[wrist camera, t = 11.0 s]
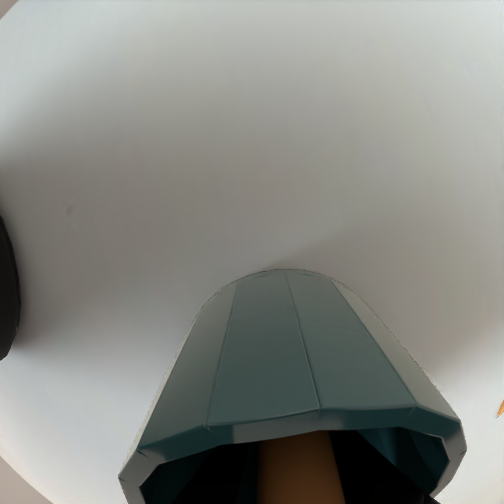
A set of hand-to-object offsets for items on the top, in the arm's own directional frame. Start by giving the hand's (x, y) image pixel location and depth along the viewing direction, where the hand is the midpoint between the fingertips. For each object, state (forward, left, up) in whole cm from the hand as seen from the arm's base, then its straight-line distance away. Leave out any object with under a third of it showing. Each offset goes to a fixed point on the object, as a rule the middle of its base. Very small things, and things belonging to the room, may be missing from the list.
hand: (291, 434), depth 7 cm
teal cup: (0, 0, -4) cm, 4 cm away
